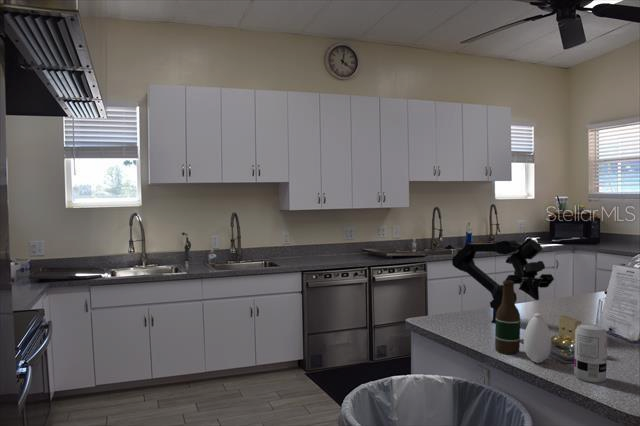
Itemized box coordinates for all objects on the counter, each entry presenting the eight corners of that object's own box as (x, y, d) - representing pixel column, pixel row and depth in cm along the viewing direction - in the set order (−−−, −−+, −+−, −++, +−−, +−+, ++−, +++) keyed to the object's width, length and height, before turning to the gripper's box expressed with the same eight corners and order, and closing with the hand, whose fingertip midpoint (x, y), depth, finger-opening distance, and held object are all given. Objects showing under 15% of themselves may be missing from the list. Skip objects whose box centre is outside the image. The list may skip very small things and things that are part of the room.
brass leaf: (550, 344, 177) (550, 316, 177) (564, 343, 178) (565, 315, 178) (565, 351, 170) (566, 321, 169) (580, 350, 171) (581, 321, 170)
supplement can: (568, 373, 151) (569, 323, 150) (594, 373, 152) (596, 323, 151) (584, 383, 143) (586, 330, 142) (612, 383, 143) (614, 330, 143)
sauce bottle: (518, 360, 162) (519, 304, 162) (534, 356, 166) (535, 302, 166) (539, 367, 156) (540, 309, 155) (555, 363, 160) (557, 306, 159)
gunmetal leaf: (550, 353, 168) (551, 343, 168) (574, 352, 170) (575, 341, 170) (565, 360, 161) (565, 349, 161) (590, 359, 163) (590, 348, 163)
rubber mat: (516, 340, 185) (516, 339, 184) (553, 338, 187) (553, 337, 187) (564, 364, 159) (564, 363, 159) (605, 361, 162) (605, 360, 162)
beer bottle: (519, 349, 174) (520, 279, 173) (520, 356, 167) (521, 283, 166) (495, 346, 177) (496, 278, 176) (495, 353, 169) (496, 281, 168)
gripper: (508, 254, 194) (524, 288, 184) (551, 253, 198) (570, 286, 188) (496, 271, 202) (511, 304, 192) (538, 270, 206) (555, 303, 196)
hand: (537, 299), depth 192 cm, fingers closed
